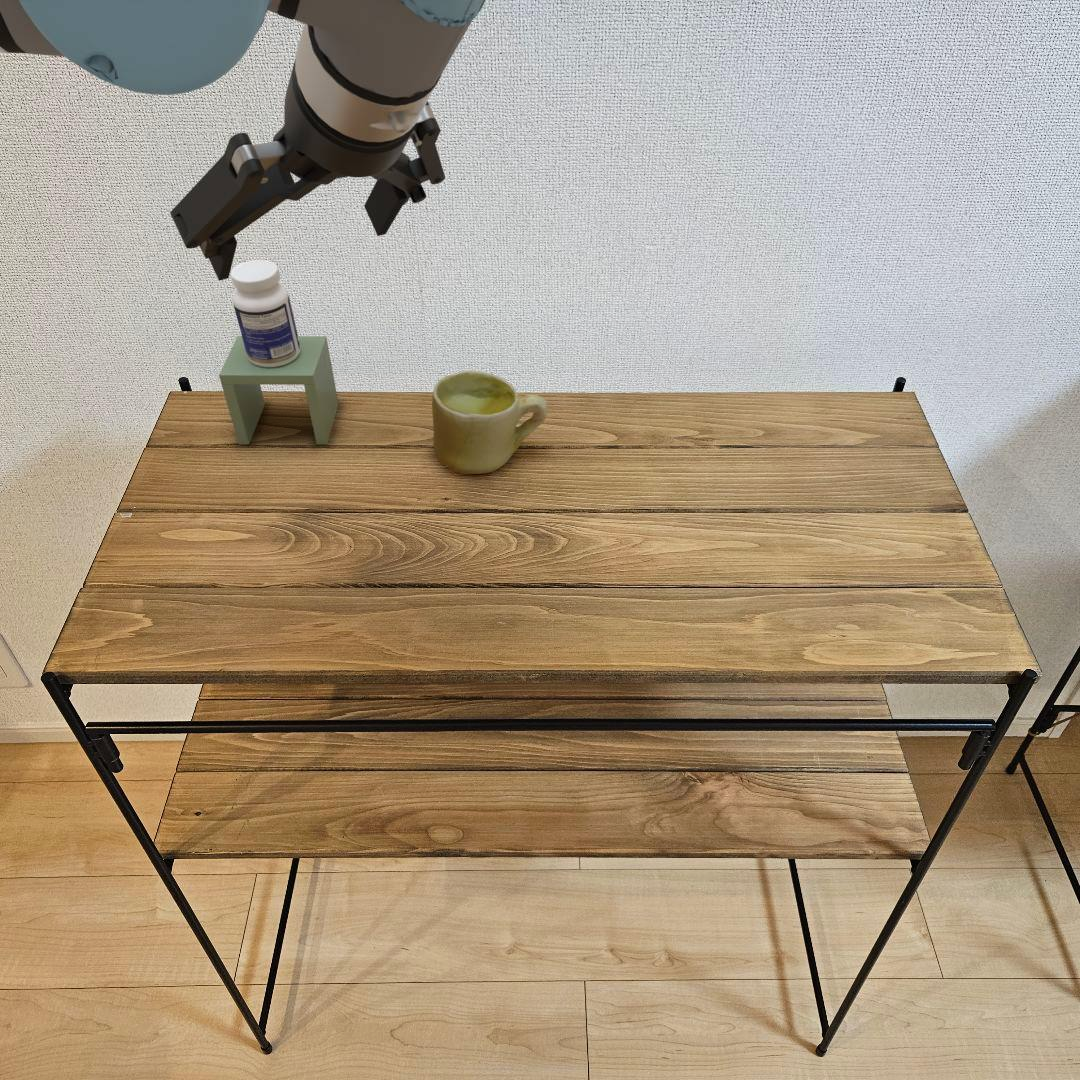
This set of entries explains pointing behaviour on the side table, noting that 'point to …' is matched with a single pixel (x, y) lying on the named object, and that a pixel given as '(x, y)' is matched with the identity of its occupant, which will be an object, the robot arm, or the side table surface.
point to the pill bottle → (264, 314)
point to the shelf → (304, 370)
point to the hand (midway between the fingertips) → (298, 240)
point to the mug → (480, 421)
